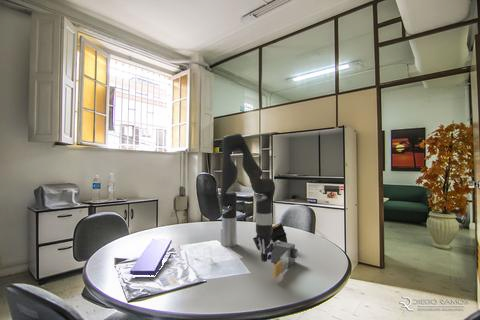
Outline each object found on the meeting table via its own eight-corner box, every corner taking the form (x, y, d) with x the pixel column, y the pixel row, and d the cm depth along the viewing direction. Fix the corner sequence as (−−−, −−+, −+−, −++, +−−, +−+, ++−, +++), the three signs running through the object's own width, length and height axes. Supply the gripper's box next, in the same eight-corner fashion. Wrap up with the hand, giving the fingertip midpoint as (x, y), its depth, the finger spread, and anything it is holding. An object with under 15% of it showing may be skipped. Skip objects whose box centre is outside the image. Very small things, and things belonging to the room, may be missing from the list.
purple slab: (172, 255, 131) (172, 237, 131) (155, 279, 103) (156, 256, 103) (151, 255, 130) (152, 238, 131) (129, 279, 102) (129, 257, 103)
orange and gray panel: (287, 265, 114) (287, 249, 114) (289, 266, 113) (289, 249, 113) (273, 281, 98) (273, 262, 98) (276, 282, 97) (275, 263, 97)
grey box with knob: (271, 261, 120) (270, 242, 120) (277, 257, 125) (277, 239, 126) (293, 267, 112) (293, 247, 113) (299, 263, 118) (299, 243, 118)
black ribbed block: (293, 246, 137) (282, 223, 138) (273, 256, 137) (262, 233, 137) (291, 244, 141) (280, 222, 142) (272, 254, 141) (261, 232, 141)
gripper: (248, 221, 108) (248, 258, 108) (269, 226, 98) (269, 268, 98) (259, 218, 113) (260, 254, 113) (280, 223, 103) (281, 263, 103)
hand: (264, 260), depth 105 cm, fingers closed
